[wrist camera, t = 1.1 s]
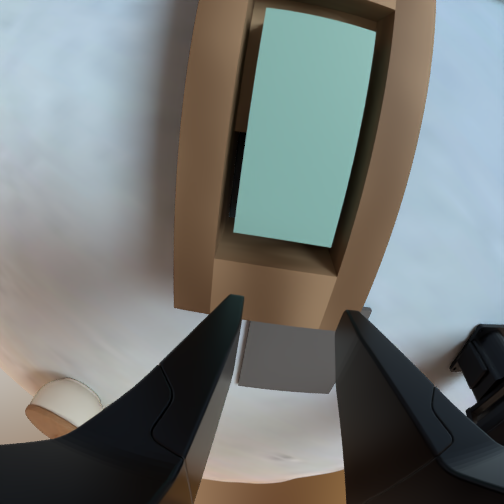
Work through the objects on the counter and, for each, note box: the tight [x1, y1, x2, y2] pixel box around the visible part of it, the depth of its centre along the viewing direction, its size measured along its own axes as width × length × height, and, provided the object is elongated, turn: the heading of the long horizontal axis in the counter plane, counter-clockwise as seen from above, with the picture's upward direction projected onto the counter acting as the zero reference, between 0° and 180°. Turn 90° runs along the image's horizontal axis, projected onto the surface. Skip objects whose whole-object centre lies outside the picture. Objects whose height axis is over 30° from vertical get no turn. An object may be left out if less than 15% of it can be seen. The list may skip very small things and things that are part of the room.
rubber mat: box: [238, 307, 372, 394], centre depth 24 cm, size 9×11×1 cm
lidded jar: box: [25, 378, 103, 439], centre depth 28 cm, size 11×11×9 cm
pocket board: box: [174, 0, 436, 331], centre depth 13 cm, size 10×20×5 cm, turn 172°
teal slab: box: [233, 8, 376, 248], centre depth 12 cm, size 4×10×2 cm, turn 172°
